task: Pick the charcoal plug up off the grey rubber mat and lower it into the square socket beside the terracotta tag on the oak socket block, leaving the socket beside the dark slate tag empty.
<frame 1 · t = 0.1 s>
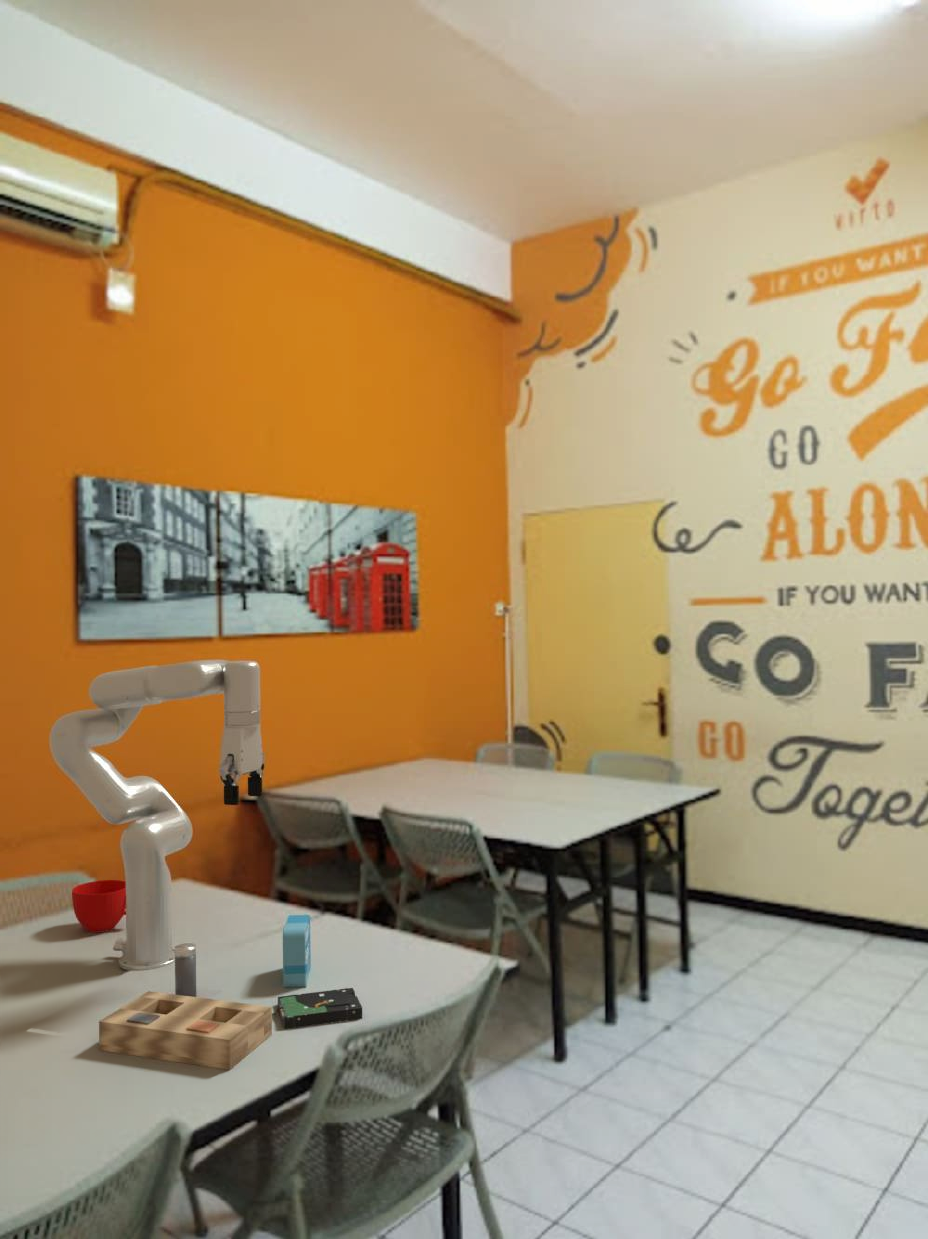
hand: (243, 800, 202), 37 cm above the table, tool pointing down, fingers open, 9 cm apart
plug: (185, 997, 188), point 1 cm above the table, touching rubber mat
disk drive: (319, 1016, 182), on the table
ceramic cup: (109, 928, 233), on the table
socket block: (186, 1042, 170), on the table
rubber mat: (185, 1000, 188), on the table
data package: (297, 980, 199), on the table
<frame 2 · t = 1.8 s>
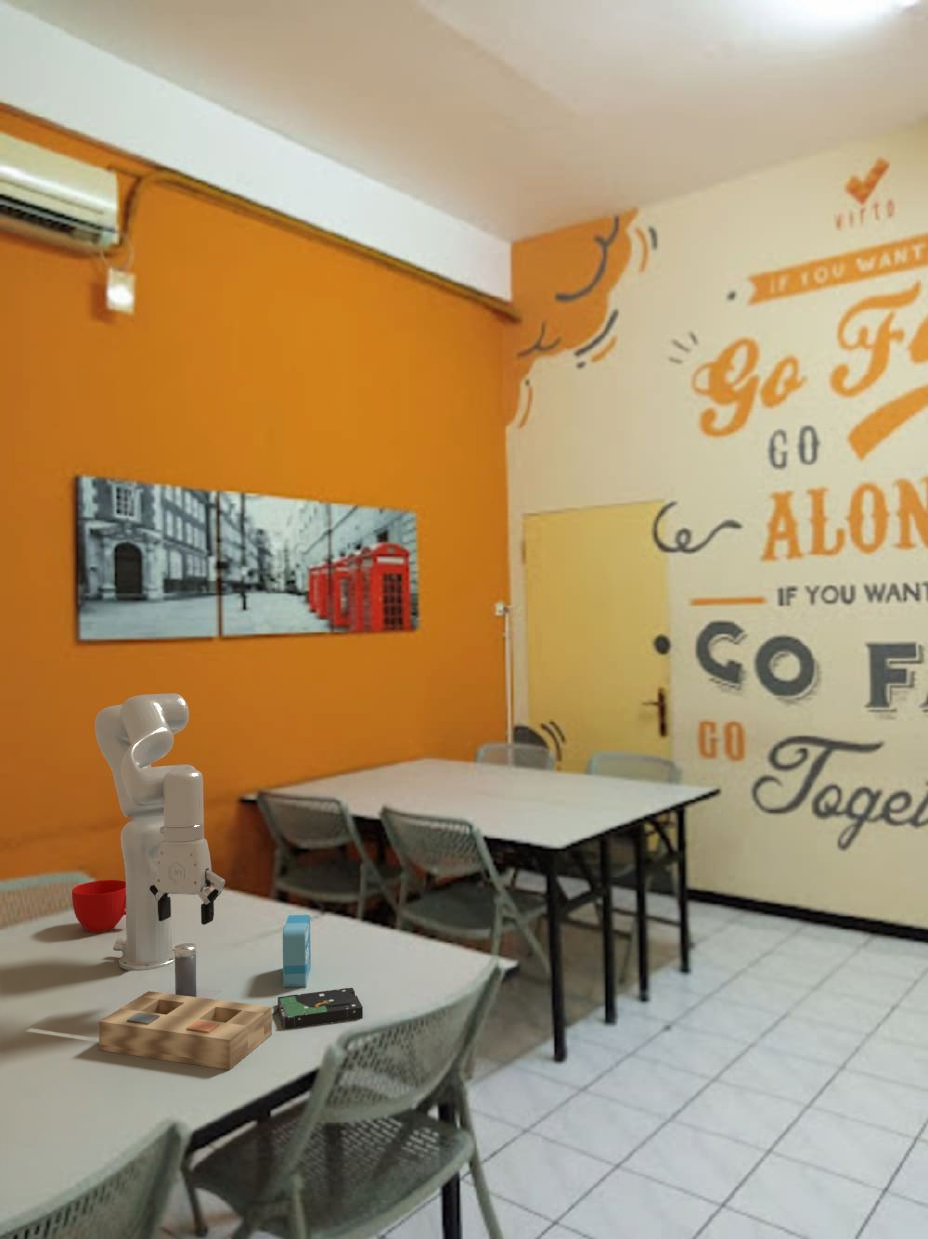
hand: (185, 920, 188), 16 cm above the table, tool pointing down, fingers open, 9 cm apart
nothing on the table moved.
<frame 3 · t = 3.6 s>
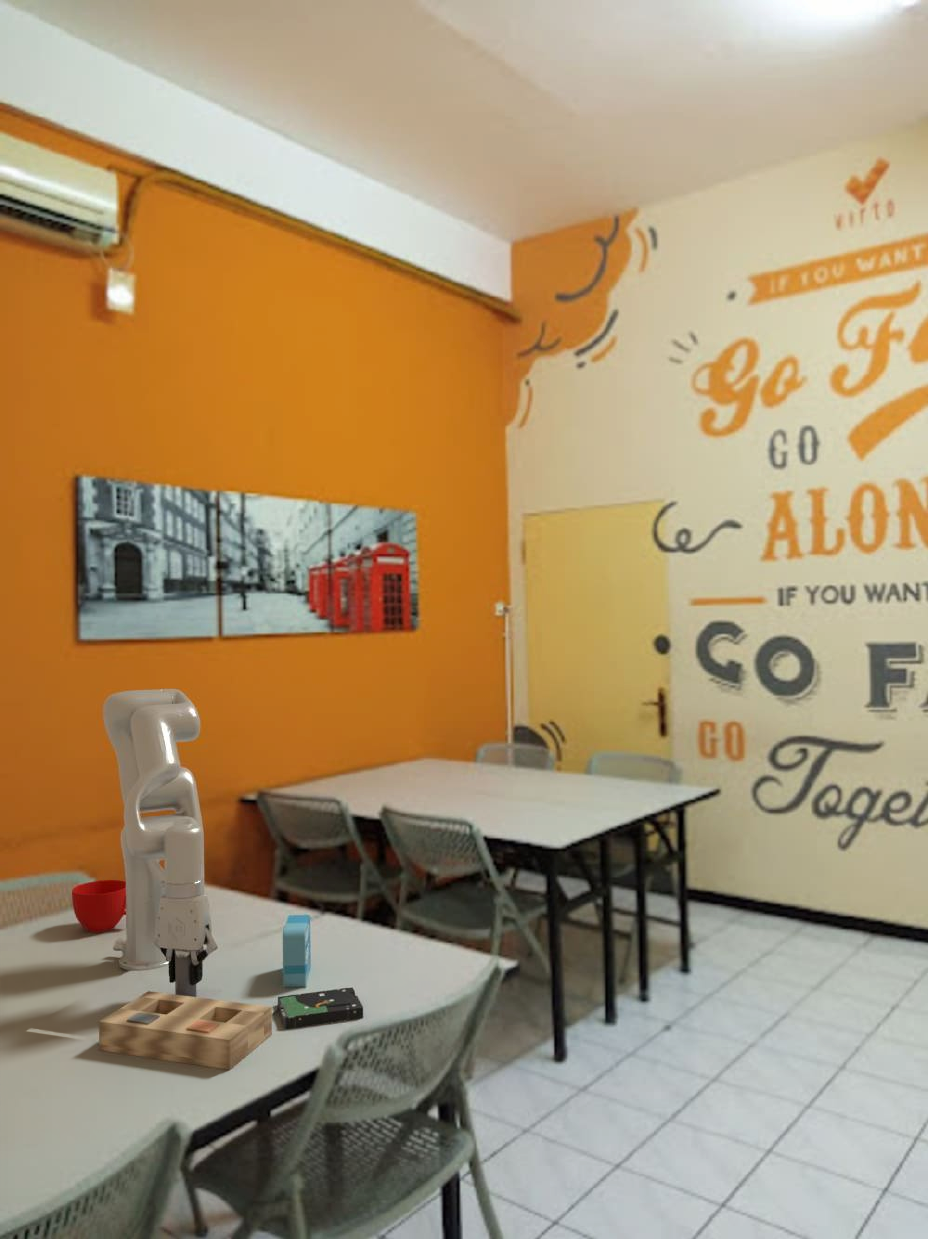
hand: (185, 980, 188), 4 cm above the table, tool pointing down, fingers closed on plug, 4 cm apart
plug: (185, 997, 188), point 1 cm above the table, touching gripper, rubber mat
everything else where it was.
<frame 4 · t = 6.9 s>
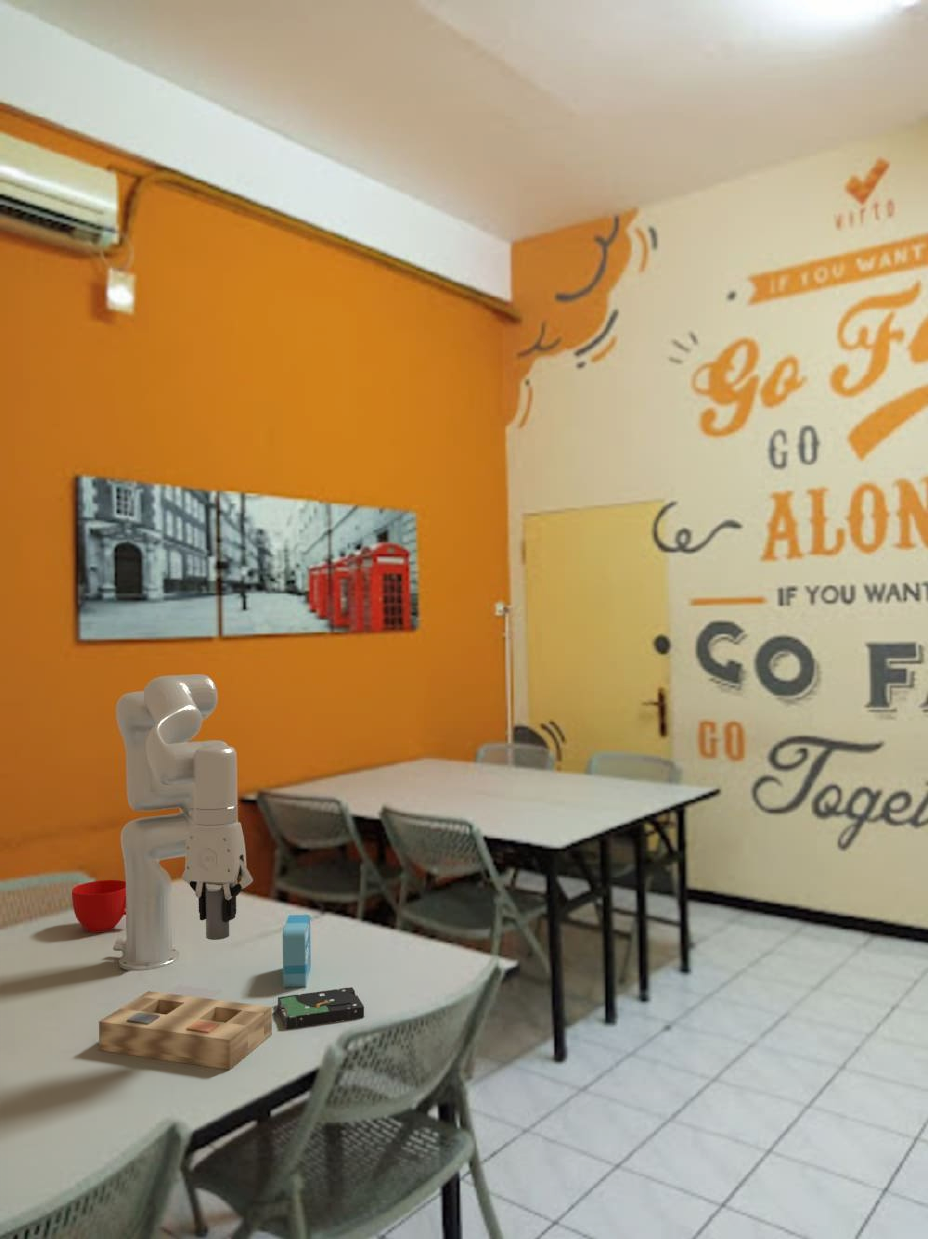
hand: (217, 917, 170), 22 cm above the table, tool pointing down, fingers closed on plug, 4 cm apart
plug: (217, 936, 170), point 19 cm above the table, touching gripper
everything else where it was.
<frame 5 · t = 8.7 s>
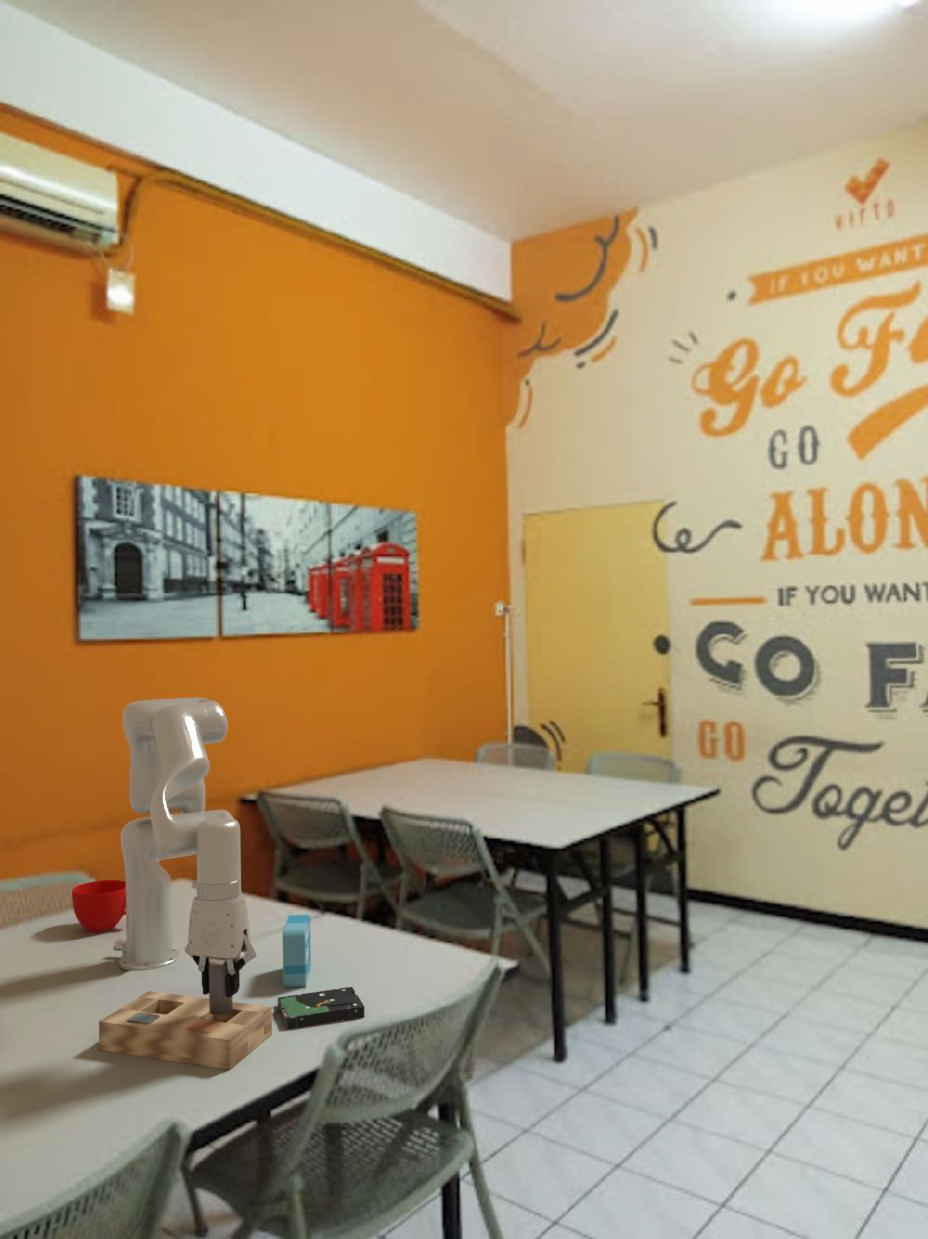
hand: (220, 992, 169), 9 cm above the table, tool pointing down, fingers closed on plug, 4 cm apart
plug: (221, 1010, 169), point 6 cm above the table, touching gripper
everything else where it was.
when the fingers open (6 cm above the table, at t = 10.2 s): plug drops 2 cm, resting on socket block.
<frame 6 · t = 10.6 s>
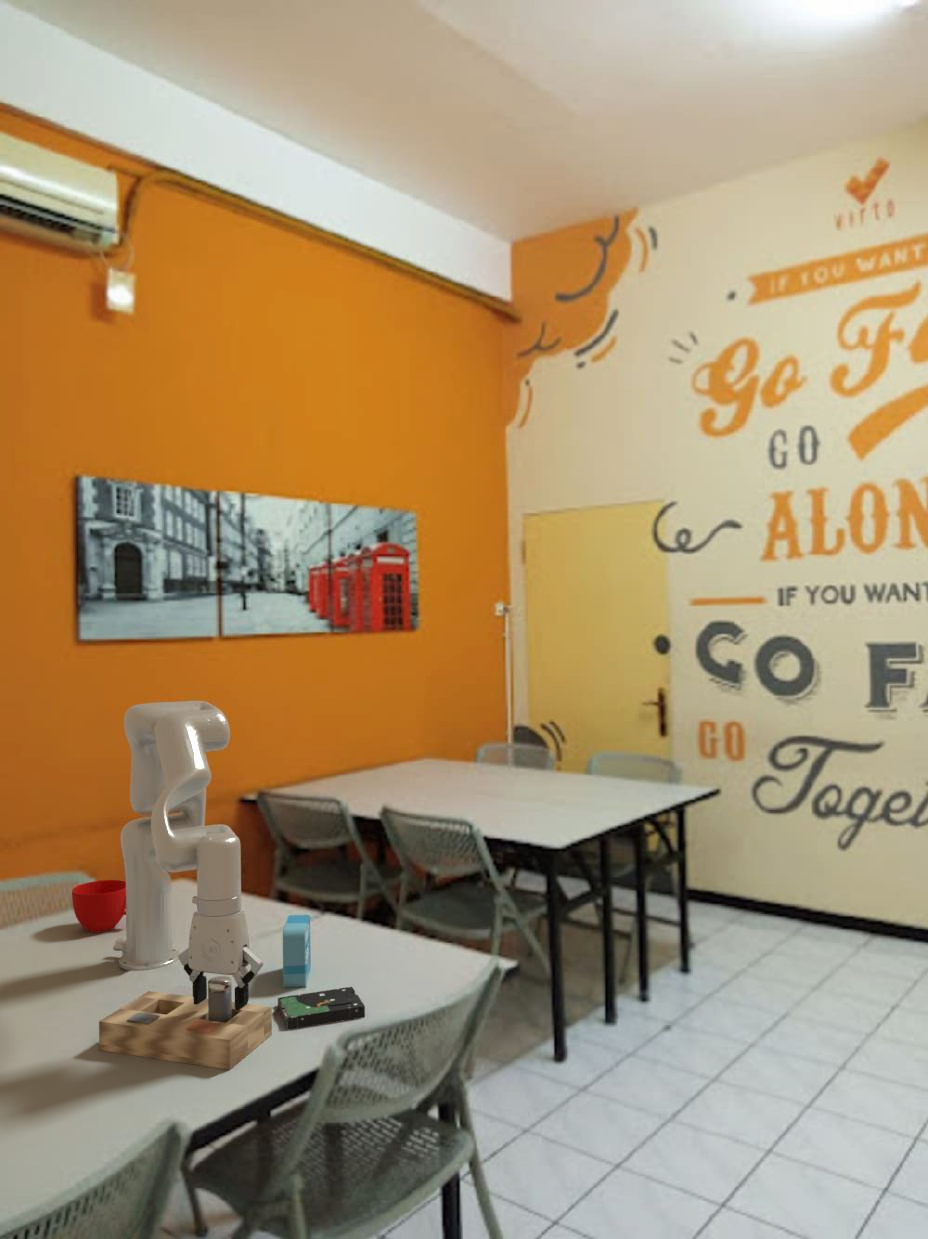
hand: (220, 1003, 169), 7 cm above the table, tool pointing down, fingers open, 7 cm apart
plug: (220, 1036, 169), point 1 cm above the table, touching socket block
everything else where it was.
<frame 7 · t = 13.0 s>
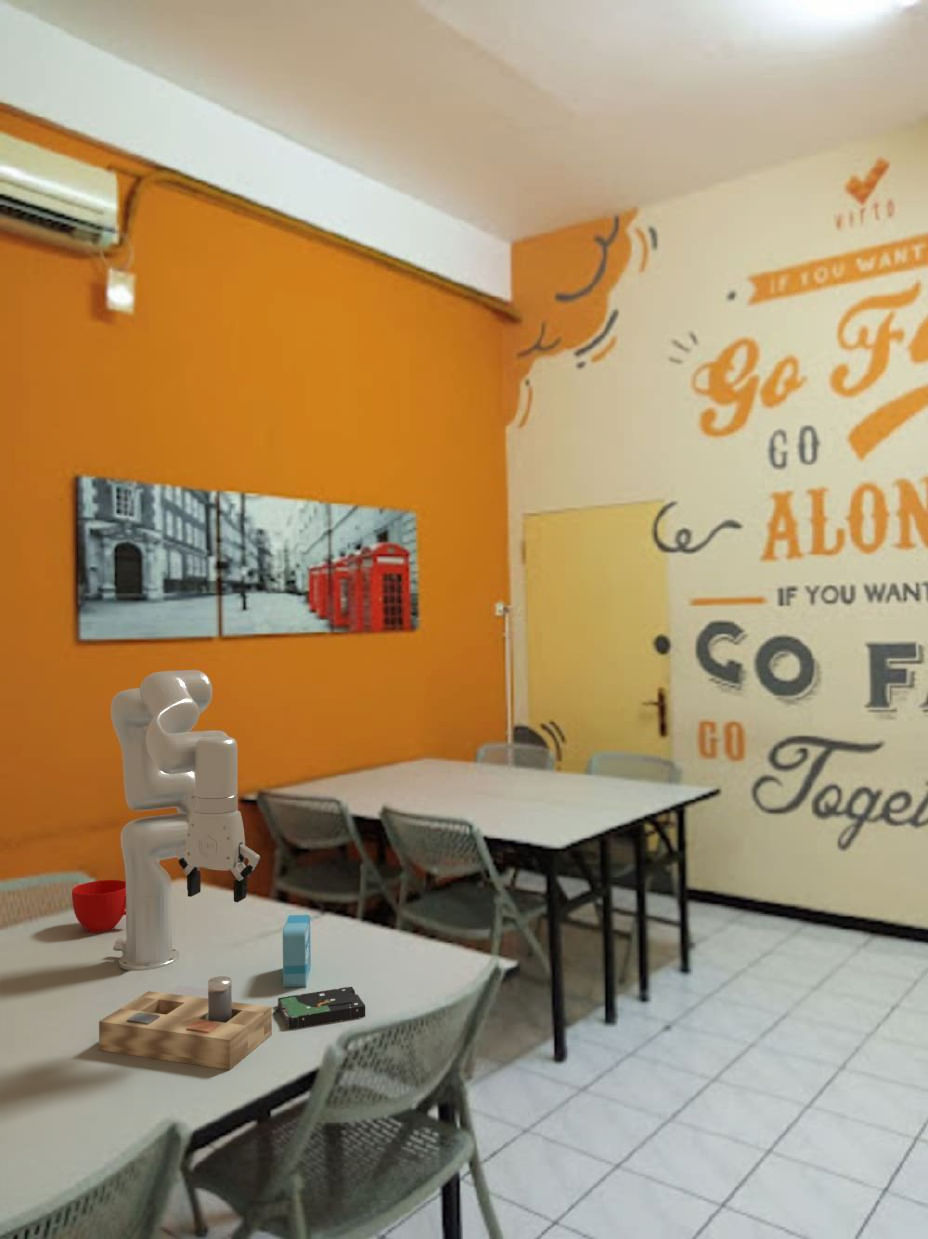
hand: (216, 897, 175), 24 cm above the table, tool pointing down, fingers open, 9 cm apart
nothing on the table moved.
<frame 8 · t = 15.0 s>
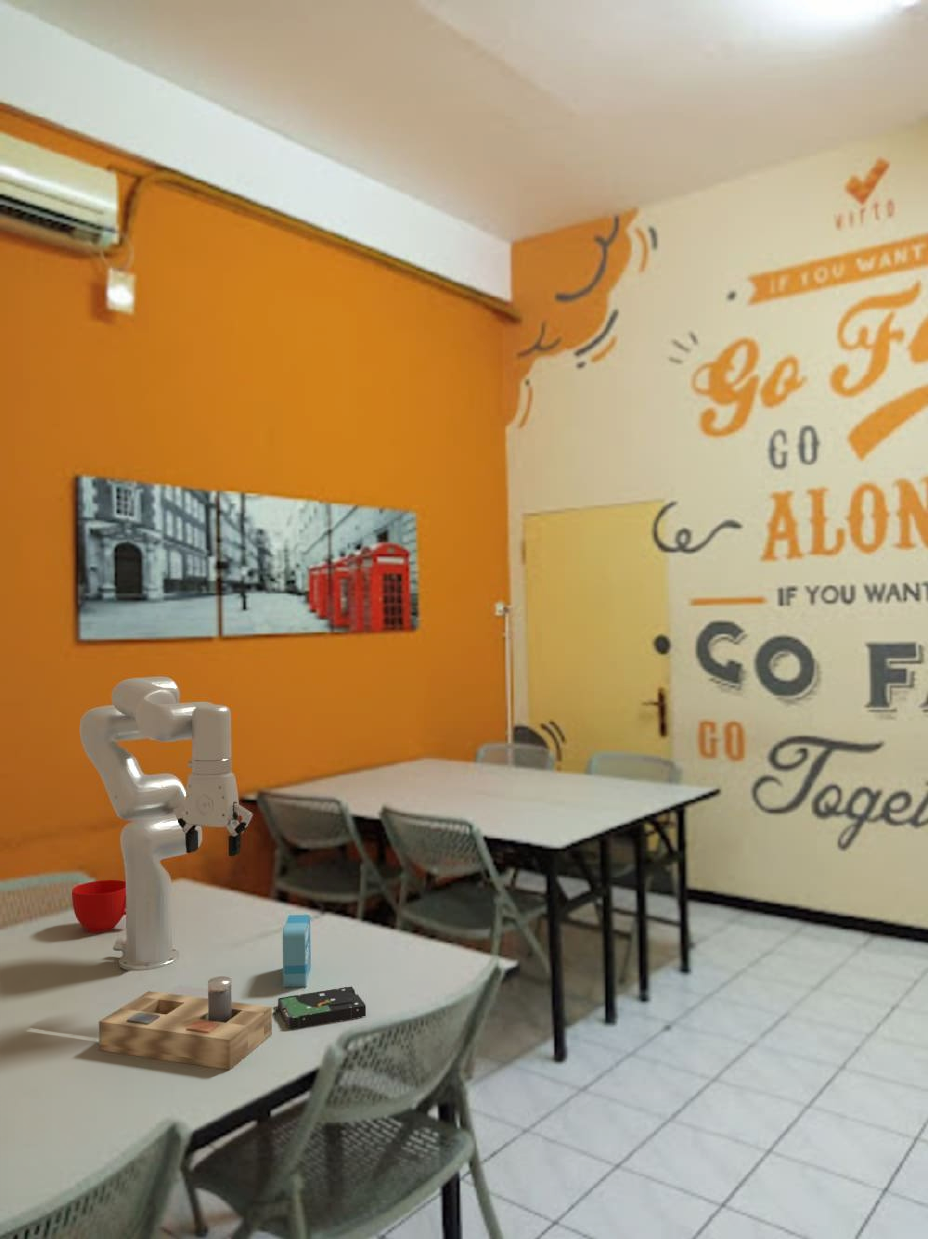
hand: (213, 853, 191), 28 cm above the table, tool pointing down, fingers open, 9 cm apart
nothing on the table moved.
at the end: plug 0.2 cm from the target spot on the socket block, point 1.0 cm above the socket block's base; plug tilted 0°; the gripper is holding nothing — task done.
